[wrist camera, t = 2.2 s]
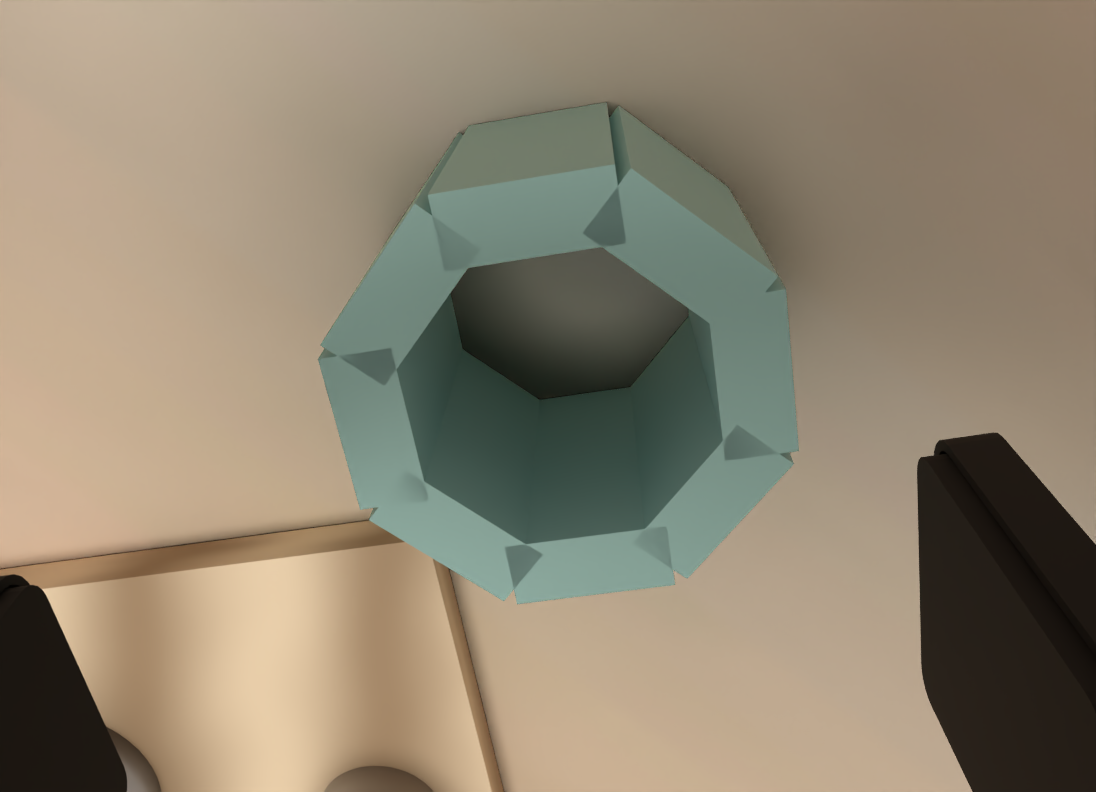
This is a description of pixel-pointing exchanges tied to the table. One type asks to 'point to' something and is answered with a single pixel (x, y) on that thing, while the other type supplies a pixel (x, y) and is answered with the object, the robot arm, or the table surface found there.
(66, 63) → the table surface
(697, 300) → the ring
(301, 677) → the board
